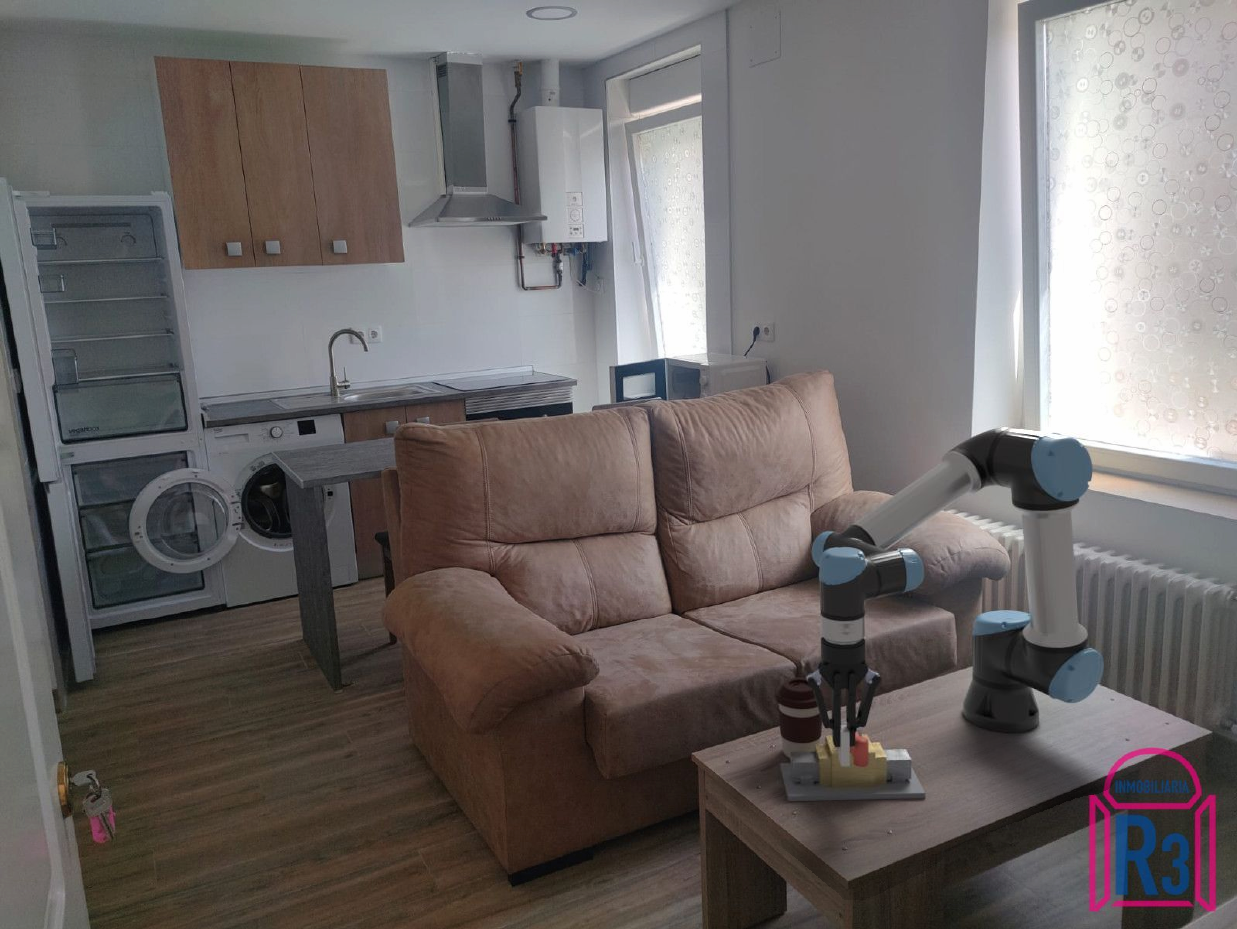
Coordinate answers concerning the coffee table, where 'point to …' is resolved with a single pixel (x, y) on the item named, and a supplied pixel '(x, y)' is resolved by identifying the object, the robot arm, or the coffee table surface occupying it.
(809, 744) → the coffee cup
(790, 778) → the mount board
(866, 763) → the lever
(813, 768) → the pipe valve
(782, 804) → the coffee table surface
